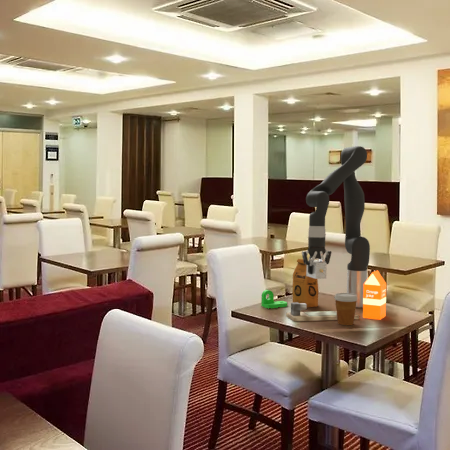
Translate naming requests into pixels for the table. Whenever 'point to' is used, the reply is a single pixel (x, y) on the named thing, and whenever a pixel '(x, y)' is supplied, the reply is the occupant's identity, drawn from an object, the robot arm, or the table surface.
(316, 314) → the coupling stand
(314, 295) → the coffee package
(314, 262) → the block
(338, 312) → the disposable coffee cup
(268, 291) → the mechanical part
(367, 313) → the orange juice
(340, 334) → the table surface
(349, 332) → the table surface
